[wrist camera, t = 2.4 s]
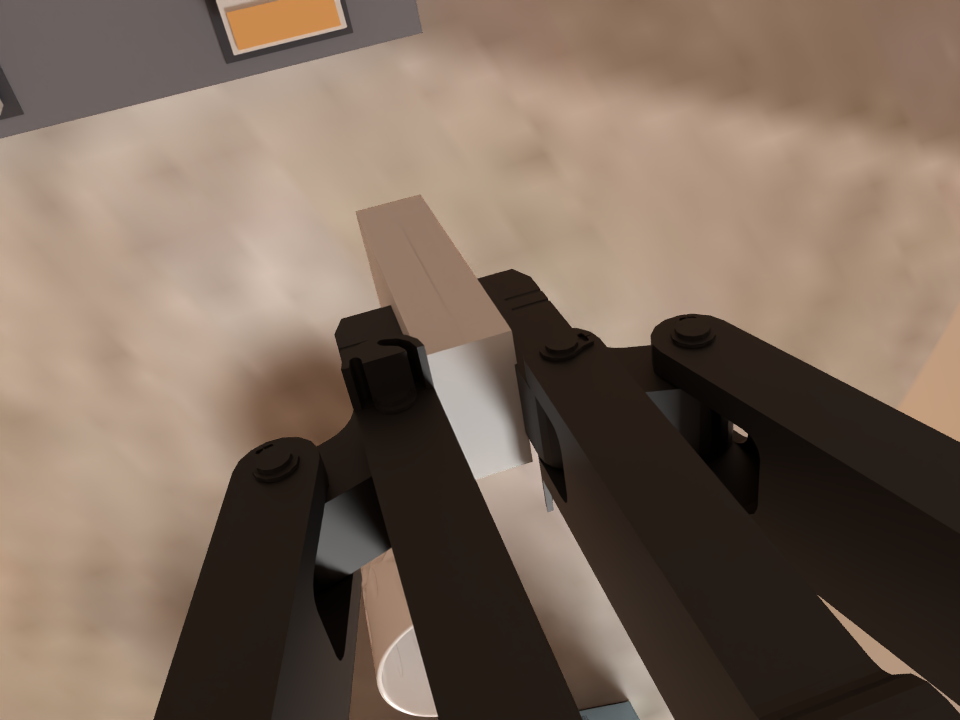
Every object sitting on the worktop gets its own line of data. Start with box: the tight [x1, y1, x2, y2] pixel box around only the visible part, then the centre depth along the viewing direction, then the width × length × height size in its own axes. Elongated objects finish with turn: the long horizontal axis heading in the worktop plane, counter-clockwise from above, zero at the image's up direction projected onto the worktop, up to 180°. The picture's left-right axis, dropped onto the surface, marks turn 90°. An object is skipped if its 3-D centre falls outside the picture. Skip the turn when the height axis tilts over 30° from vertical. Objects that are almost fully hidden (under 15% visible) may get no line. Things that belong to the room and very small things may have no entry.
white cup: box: [361, 548, 438, 717], centre depth 42 cm, size 8×8×10 cm
